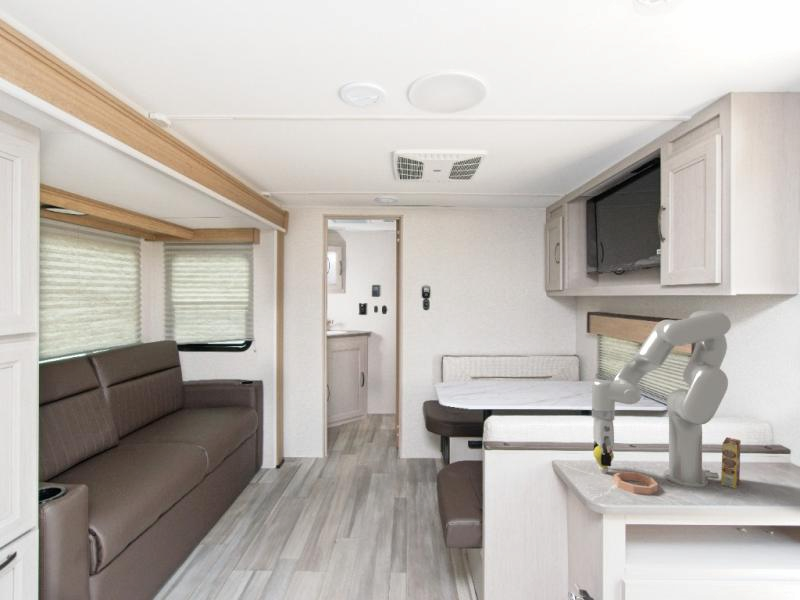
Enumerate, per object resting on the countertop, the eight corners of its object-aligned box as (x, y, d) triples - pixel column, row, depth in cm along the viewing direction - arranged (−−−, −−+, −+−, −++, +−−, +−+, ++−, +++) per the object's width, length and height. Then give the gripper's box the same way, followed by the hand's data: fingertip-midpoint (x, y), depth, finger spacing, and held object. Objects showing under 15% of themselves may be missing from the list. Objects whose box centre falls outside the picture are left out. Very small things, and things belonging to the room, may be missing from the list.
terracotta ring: (647, 481, 141) (647, 473, 141) (662, 498, 129) (662, 489, 129) (610, 478, 143) (610, 470, 143) (621, 494, 132) (621, 485, 132)
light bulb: (610, 469, 151) (610, 442, 151) (616, 477, 145) (616, 449, 145) (591, 468, 152) (591, 441, 152) (596, 475, 146) (596, 448, 146)
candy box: (737, 491, 134) (737, 445, 134) (720, 487, 137) (720, 442, 137) (740, 483, 140) (740, 439, 140) (725, 479, 143) (725, 436, 143)
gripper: (622, 421, 139) (620, 471, 139) (607, 408, 156) (606, 452, 156) (598, 420, 141) (597, 468, 141) (586, 407, 158) (585, 450, 158)
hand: (602, 460), depth 149 cm, fingers open, 9 cm apart
